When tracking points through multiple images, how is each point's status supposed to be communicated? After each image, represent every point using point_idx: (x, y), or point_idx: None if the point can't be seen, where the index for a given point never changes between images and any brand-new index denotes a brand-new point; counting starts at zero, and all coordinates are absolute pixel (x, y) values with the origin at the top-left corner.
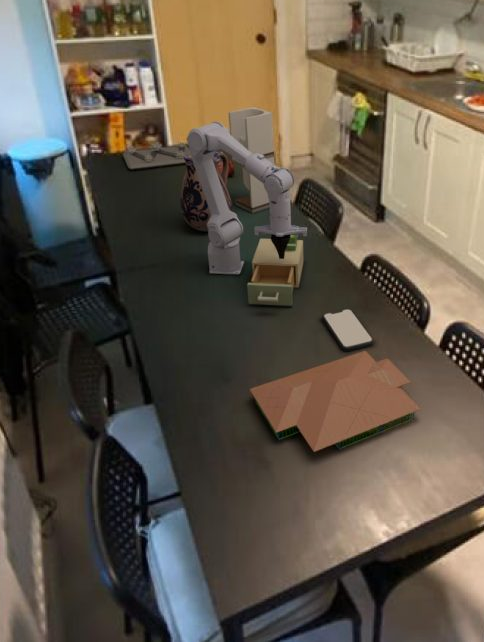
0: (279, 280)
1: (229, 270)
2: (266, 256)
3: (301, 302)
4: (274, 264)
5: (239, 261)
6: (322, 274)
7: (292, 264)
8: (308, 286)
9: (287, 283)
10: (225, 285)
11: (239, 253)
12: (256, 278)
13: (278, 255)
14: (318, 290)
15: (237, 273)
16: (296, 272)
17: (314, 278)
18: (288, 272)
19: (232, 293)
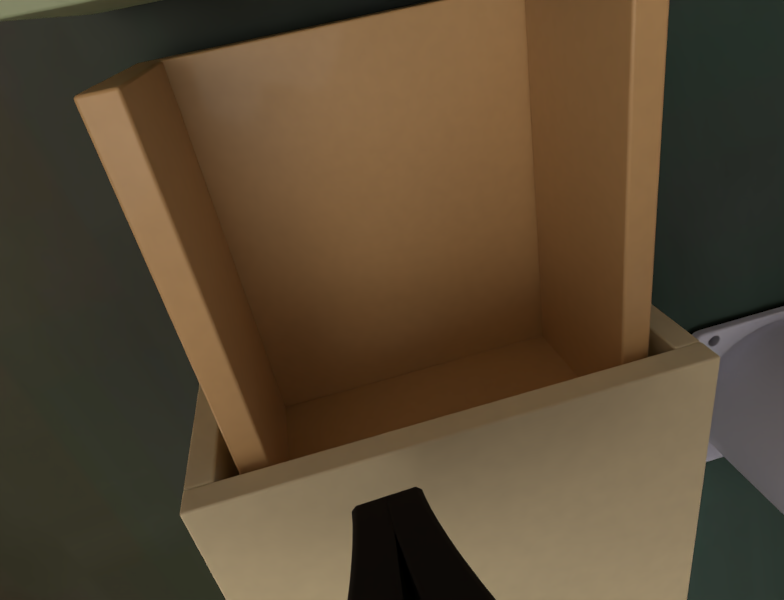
0: (376, 330)
1: (772, 335)
2: (584, 504)
3: (47, 113)
4: (463, 418)
5: (736, 429)
6: (115, 544)
7: (249, 489)
8: (133, 378)
9: (287, 311)
10: (770, 174)
11: (781, 484)
12: (594, 155)
13: (469, 563)
14: (11, 356)
15: (707, 333)
16: (209, 428)
17: (146, 484)
18: (322, 430)
19: (711, 73)
